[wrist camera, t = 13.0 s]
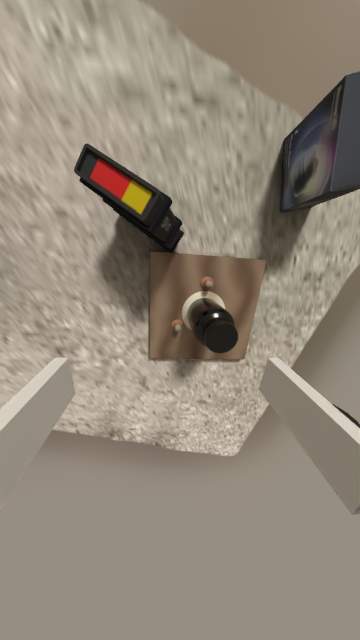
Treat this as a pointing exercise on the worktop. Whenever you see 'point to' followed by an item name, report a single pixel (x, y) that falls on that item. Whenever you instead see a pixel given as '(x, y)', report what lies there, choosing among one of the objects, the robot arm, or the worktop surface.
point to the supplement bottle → (212, 325)
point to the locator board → (194, 283)
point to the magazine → (130, 197)
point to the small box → (324, 150)
